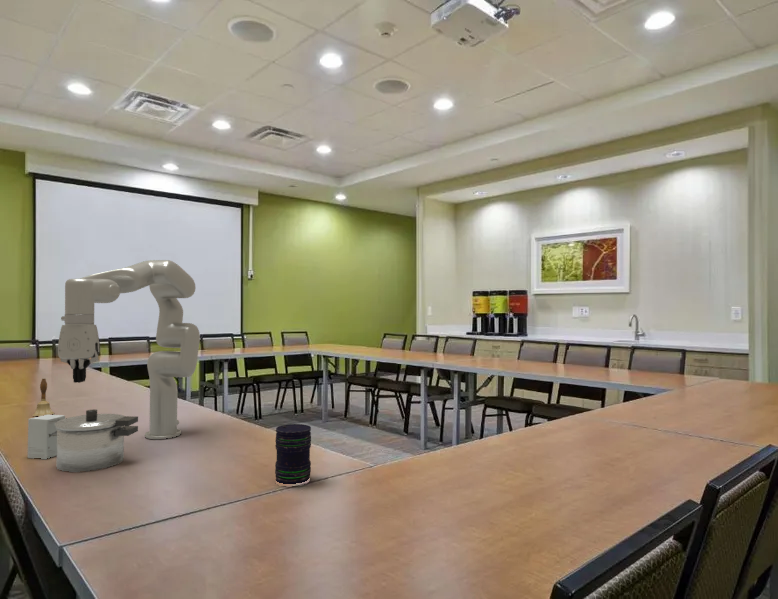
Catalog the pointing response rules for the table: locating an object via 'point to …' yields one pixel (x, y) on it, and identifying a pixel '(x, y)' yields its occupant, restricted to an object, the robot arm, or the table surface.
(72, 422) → the cooker lid
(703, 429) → the table surface
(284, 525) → the table surface
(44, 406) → the hand bell
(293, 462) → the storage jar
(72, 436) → the cooker pot
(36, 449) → the supplement box
